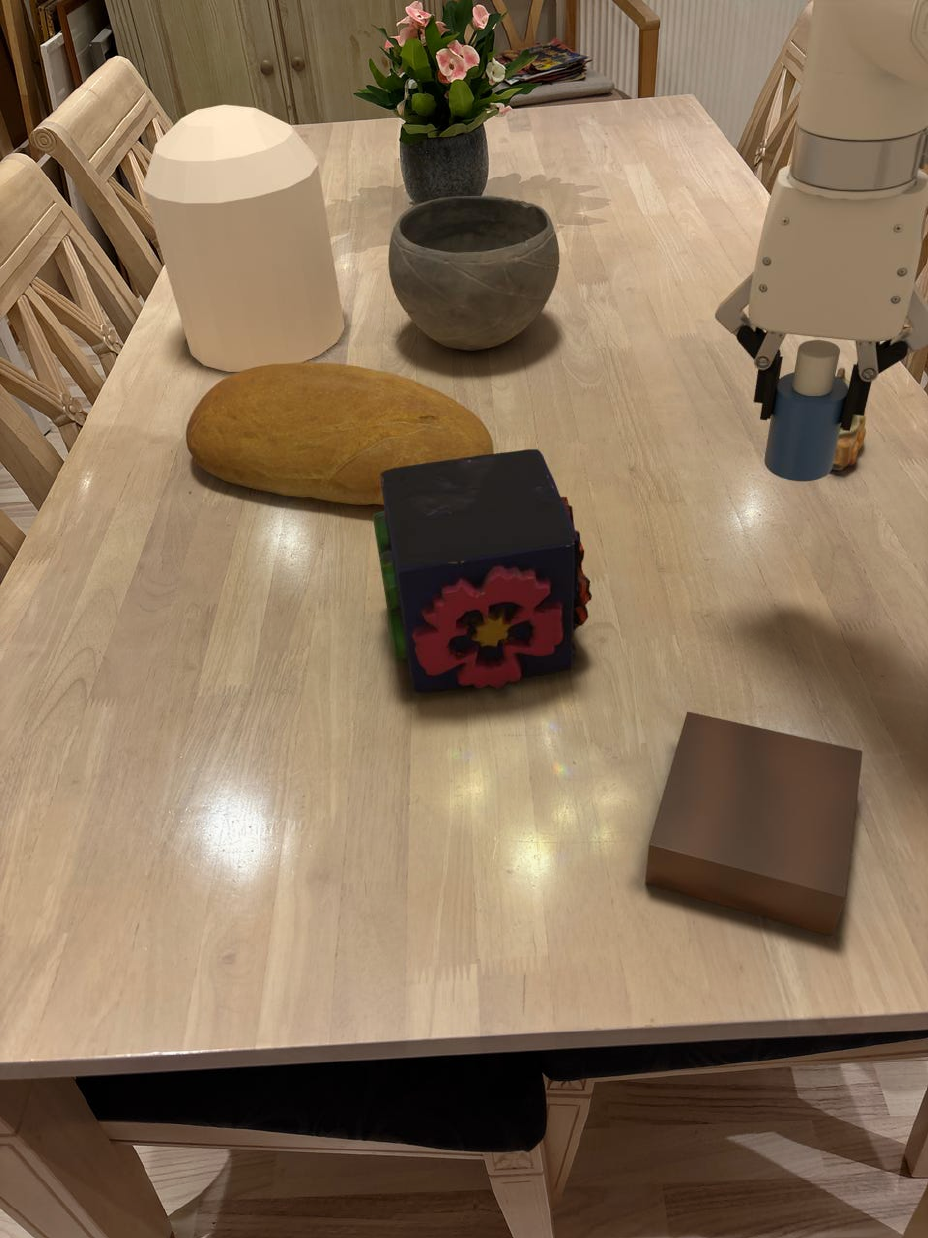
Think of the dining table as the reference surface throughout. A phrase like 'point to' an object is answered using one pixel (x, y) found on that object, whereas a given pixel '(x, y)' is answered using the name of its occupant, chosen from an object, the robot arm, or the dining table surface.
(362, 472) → the bread
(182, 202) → the container
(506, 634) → the decorative cube
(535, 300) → the bowl
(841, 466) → the ornament
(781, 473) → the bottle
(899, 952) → the dining table surface
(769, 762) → the block
